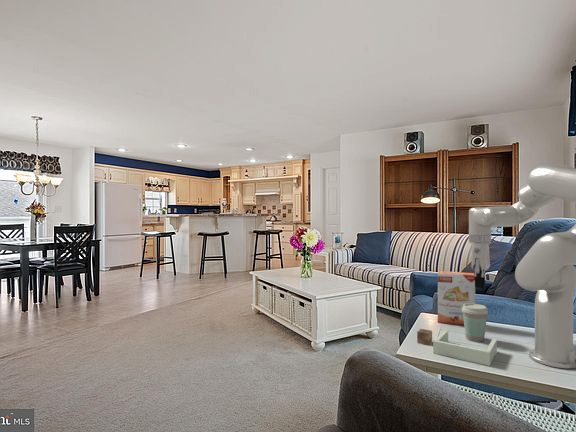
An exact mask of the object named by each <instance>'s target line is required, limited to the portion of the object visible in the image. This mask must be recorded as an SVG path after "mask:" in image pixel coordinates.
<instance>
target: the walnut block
mask: <svg viewBox="0 0 576 432" xmlns="http://www.w3.org/2000/svg"><path fill="white" fill-rule="evenodd" d="M416 333H417V334H416V335H417V337H416V339H417V340H416V341H417V343H418V344H422V345H426V346H430V345H431V344H432V342H433V331H432V330H429V329H426V328H424V329H423V328H419V330H417V331H416Z"/></svg>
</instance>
